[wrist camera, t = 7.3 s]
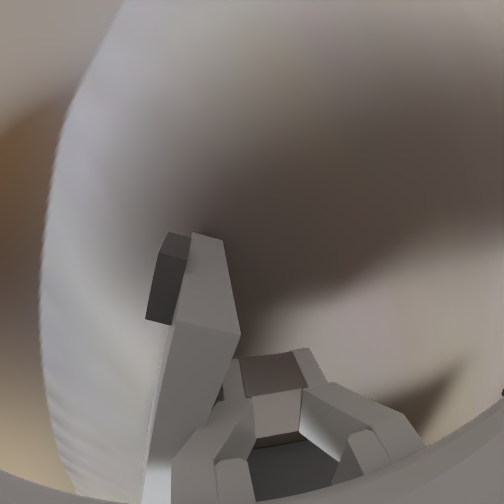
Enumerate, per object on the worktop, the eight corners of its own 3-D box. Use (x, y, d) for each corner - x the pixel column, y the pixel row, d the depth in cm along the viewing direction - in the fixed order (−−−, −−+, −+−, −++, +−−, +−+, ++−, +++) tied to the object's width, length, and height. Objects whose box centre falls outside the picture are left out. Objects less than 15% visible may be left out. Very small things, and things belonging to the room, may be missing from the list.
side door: (134, 450, 12) (126, 527, 7) (176, 217, 9) (140, 292, 4) (172, 457, 13) (172, 535, 8) (243, 236, 9) (283, 326, 4)
